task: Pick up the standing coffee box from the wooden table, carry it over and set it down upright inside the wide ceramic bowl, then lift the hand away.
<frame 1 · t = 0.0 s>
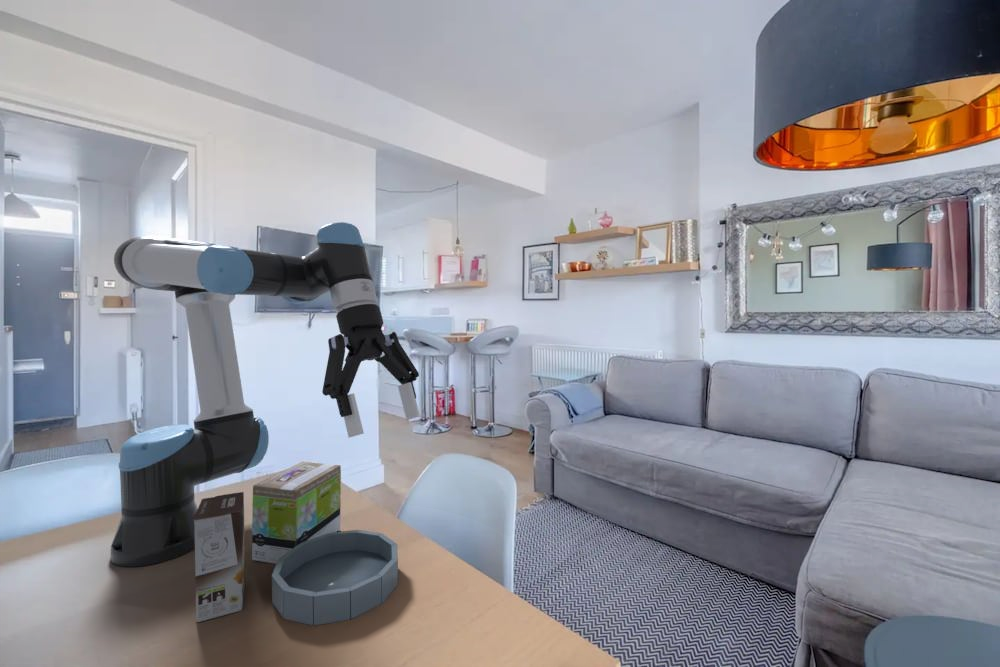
hand: (387, 426, 76), 28 cm above the table, tool tilted 20°, fingers open, 13 cm apart
tea box: (299, 545, 90), on the table
coffee box: (222, 601, 72), on the table
bowl: (338, 583, 77), on the table
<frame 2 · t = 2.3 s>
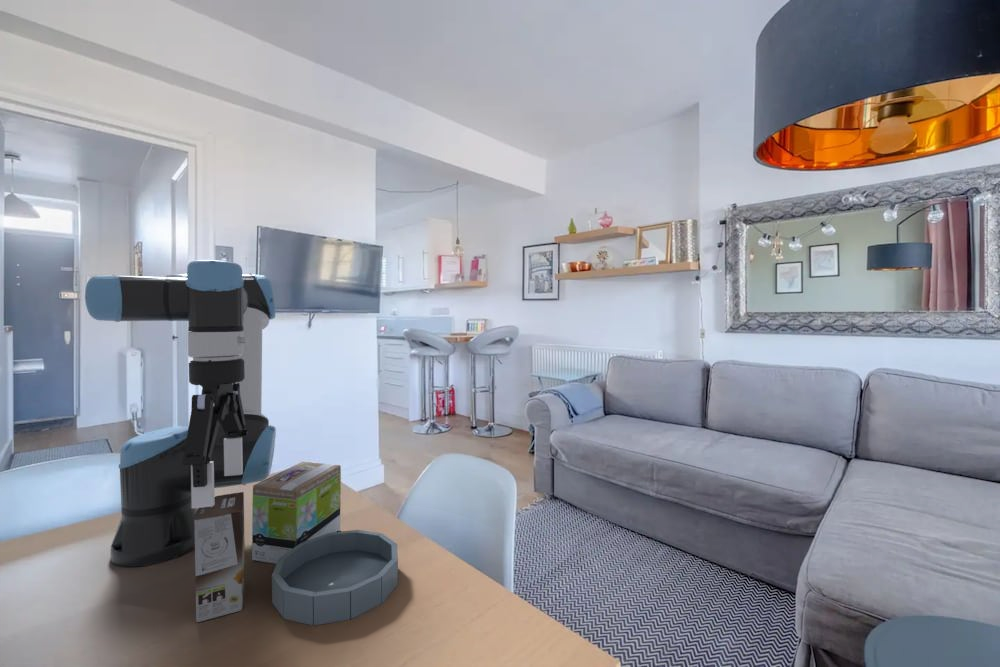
hand: (219, 489, 71), 19 cm above the table, tool pointing down, fingers open, 13 cm apart
nothing on the table moved.
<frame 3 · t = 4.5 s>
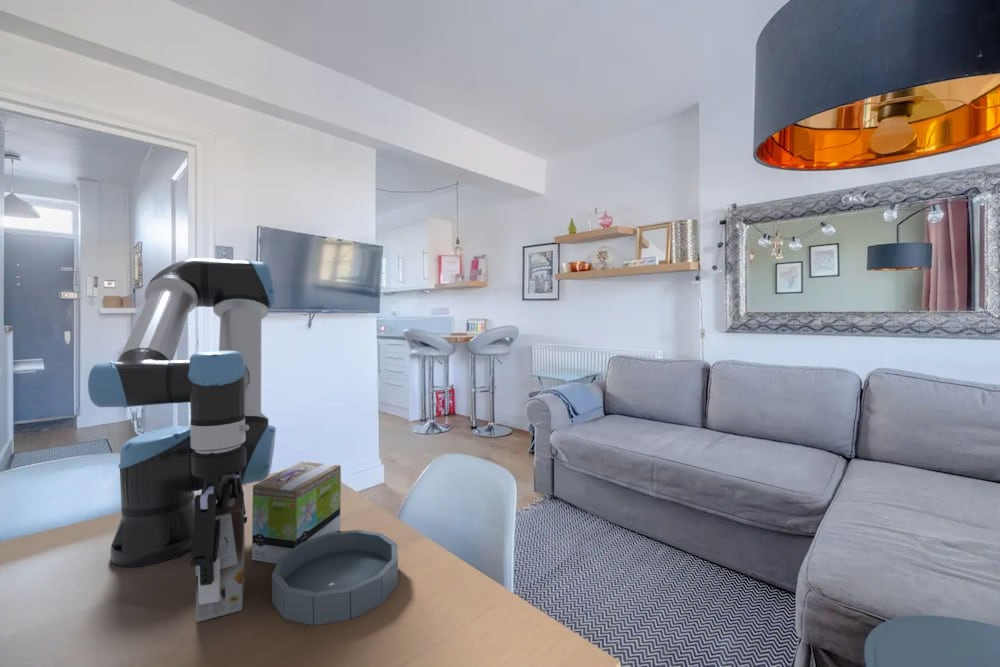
hand: (222, 581, 72), 3 cm above the table, tool pointing down, fingers closed on coffee box, 10 cm apart
coffee box: (222, 601, 72), on the table, touching gripper
everything else where it was.
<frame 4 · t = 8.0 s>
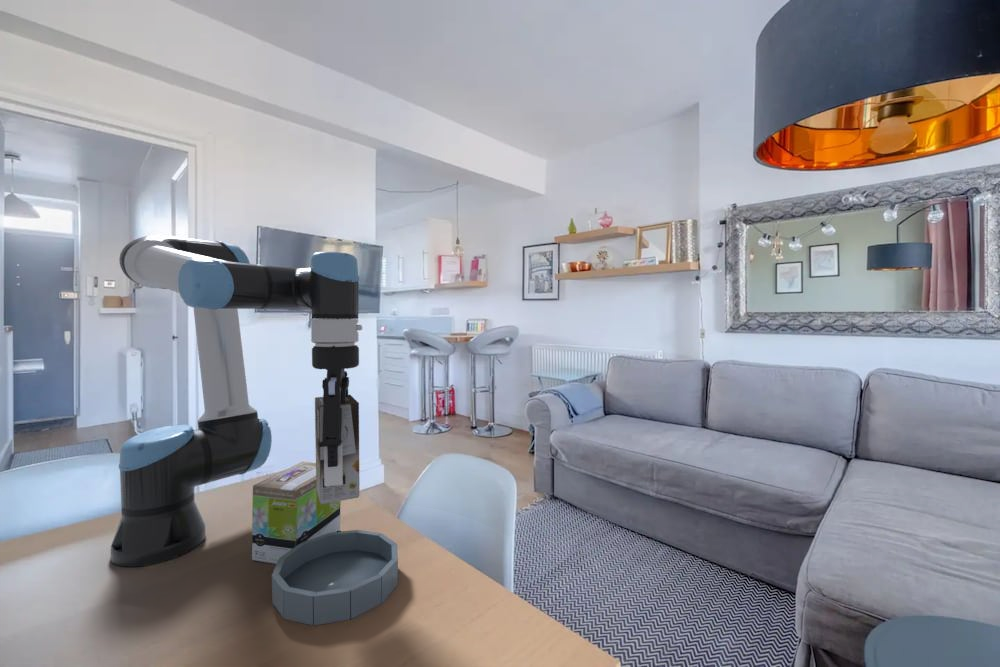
hand: (337, 473, 76), 20 cm above the table, tool pointing down, fingers closed on coffee box, 10 cm apart
coffee box: (337, 492, 76), point 16 cm above the table, touching gripper
everything else where it was.
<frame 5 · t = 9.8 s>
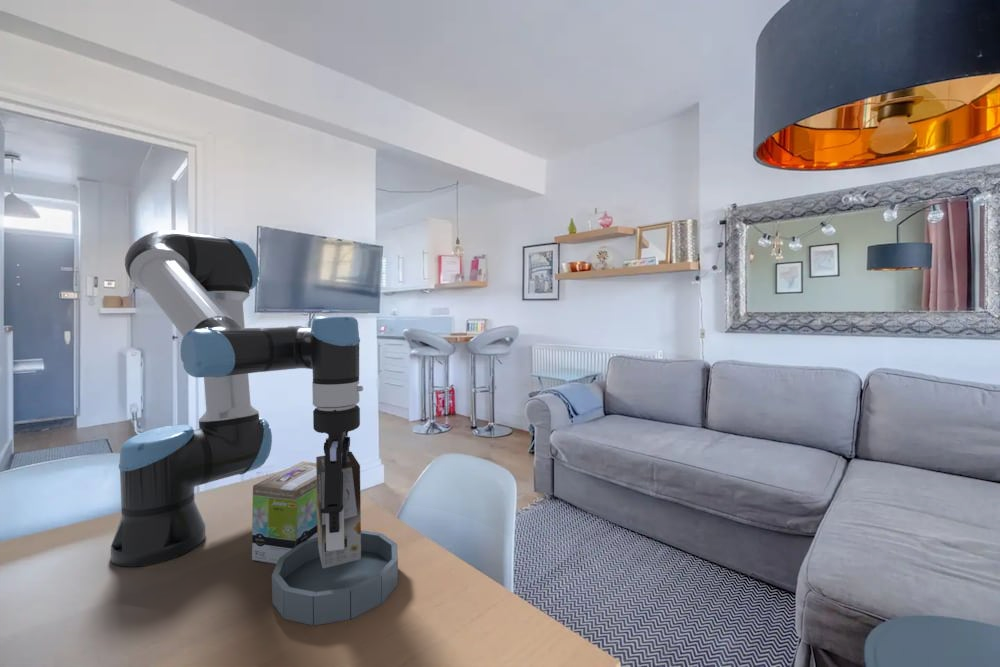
hand: (338, 533, 77), 9 cm above the table, tool pointing down, fingers closed on coffee box, 10 cm apart
coffee box: (338, 552, 77), point 6 cm above the table, touching gripper
everything else where it was.
when the fingers open (6 cm above the table, at t = 11.5 s): coffee box drops 1 cm, resting on bowl.
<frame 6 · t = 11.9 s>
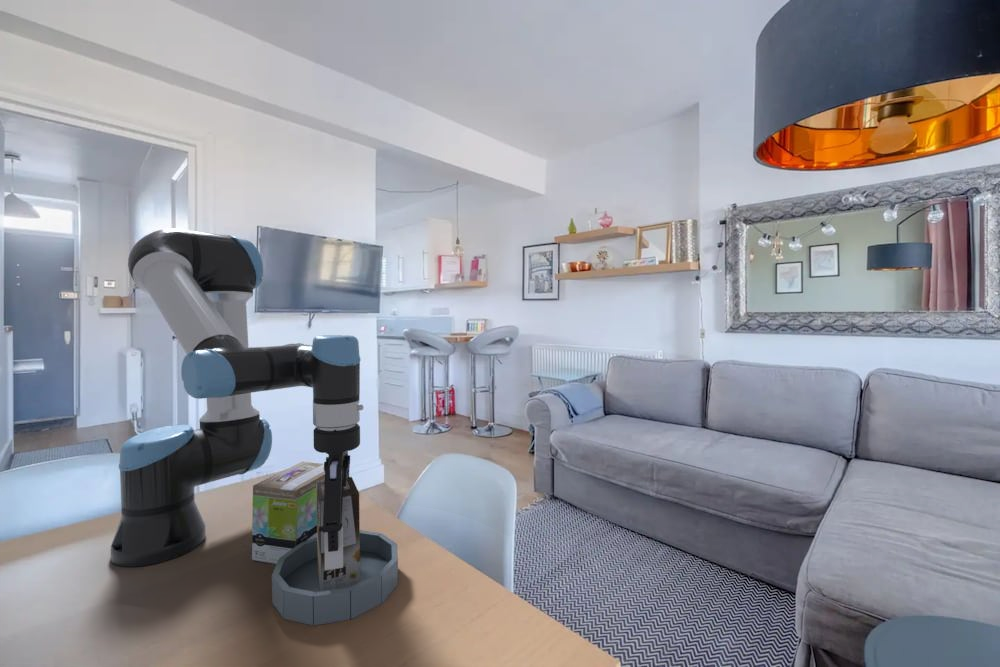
hand: (338, 546, 77), 7 cm above the table, tool pointing down, fingers open, 13 cm apart
coffee box: (338, 578, 77), point 1 cm above the table, touching bowl
everything else where it was.
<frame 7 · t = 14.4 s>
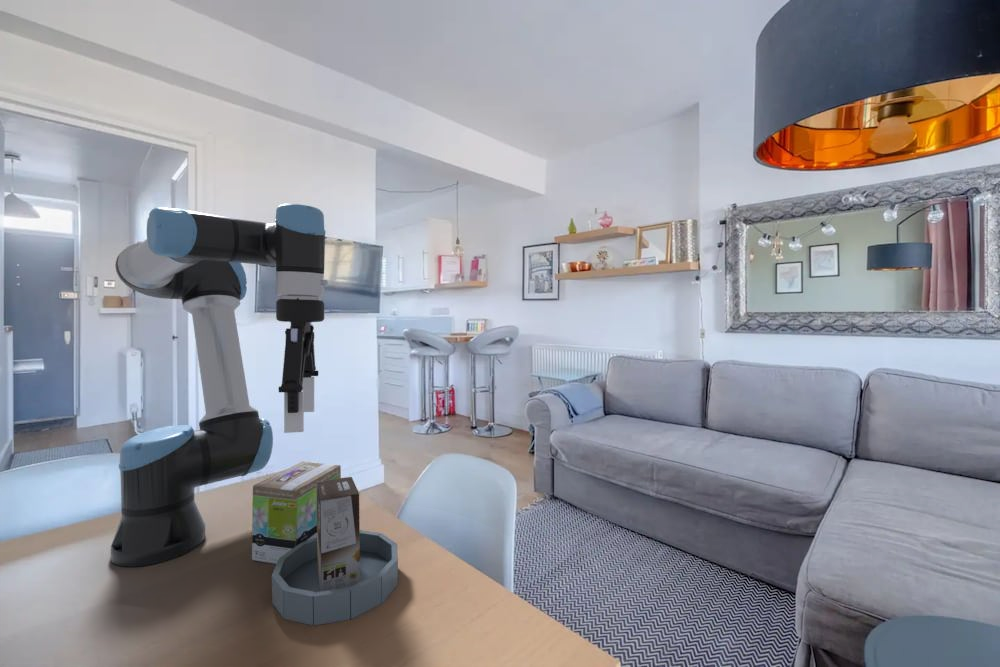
hand: (300, 421, 77), 28 cm above the table, tool pointing down, fingers open, 13 cm apart
nothing on the table moved.
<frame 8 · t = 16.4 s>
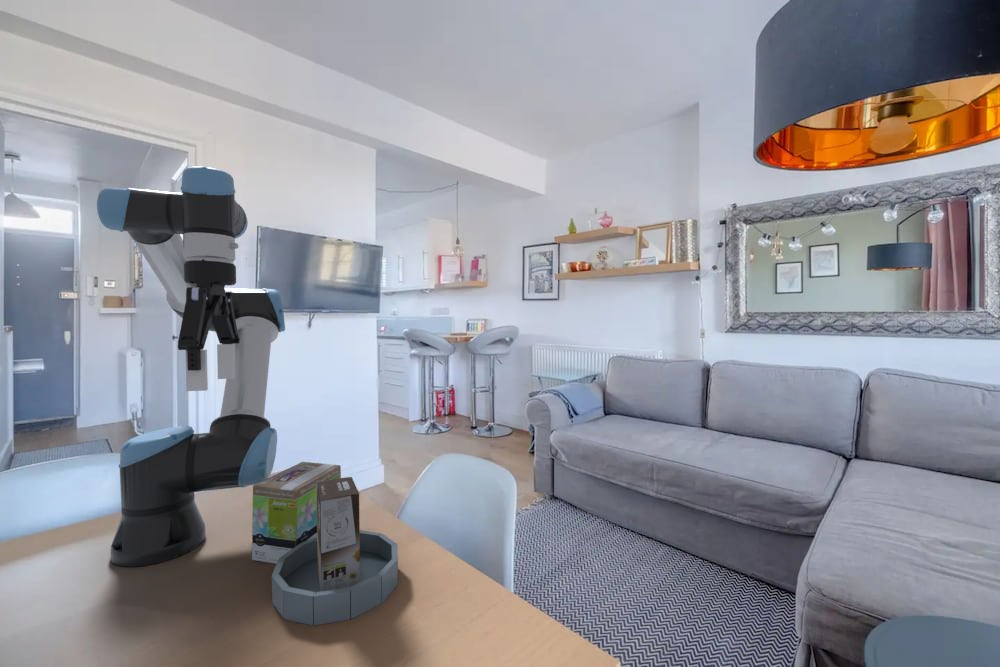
hand: (213, 384, 77), 35 cm above the table, tool pointing down, fingers open, 13 cm apart
nothing on the table moved.
at the end: coffee box inside the target area on the bowl (0.2 cm from its centre), point 0.8 cm above the bowl's base; coffee box tilted 0°; the gripper is holding nothing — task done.
